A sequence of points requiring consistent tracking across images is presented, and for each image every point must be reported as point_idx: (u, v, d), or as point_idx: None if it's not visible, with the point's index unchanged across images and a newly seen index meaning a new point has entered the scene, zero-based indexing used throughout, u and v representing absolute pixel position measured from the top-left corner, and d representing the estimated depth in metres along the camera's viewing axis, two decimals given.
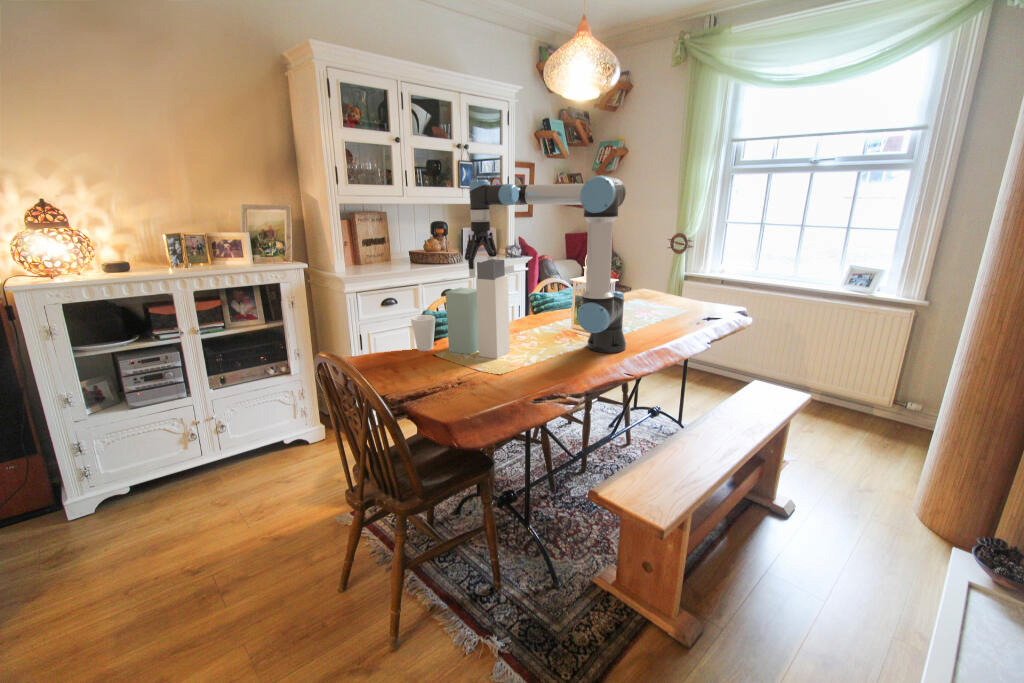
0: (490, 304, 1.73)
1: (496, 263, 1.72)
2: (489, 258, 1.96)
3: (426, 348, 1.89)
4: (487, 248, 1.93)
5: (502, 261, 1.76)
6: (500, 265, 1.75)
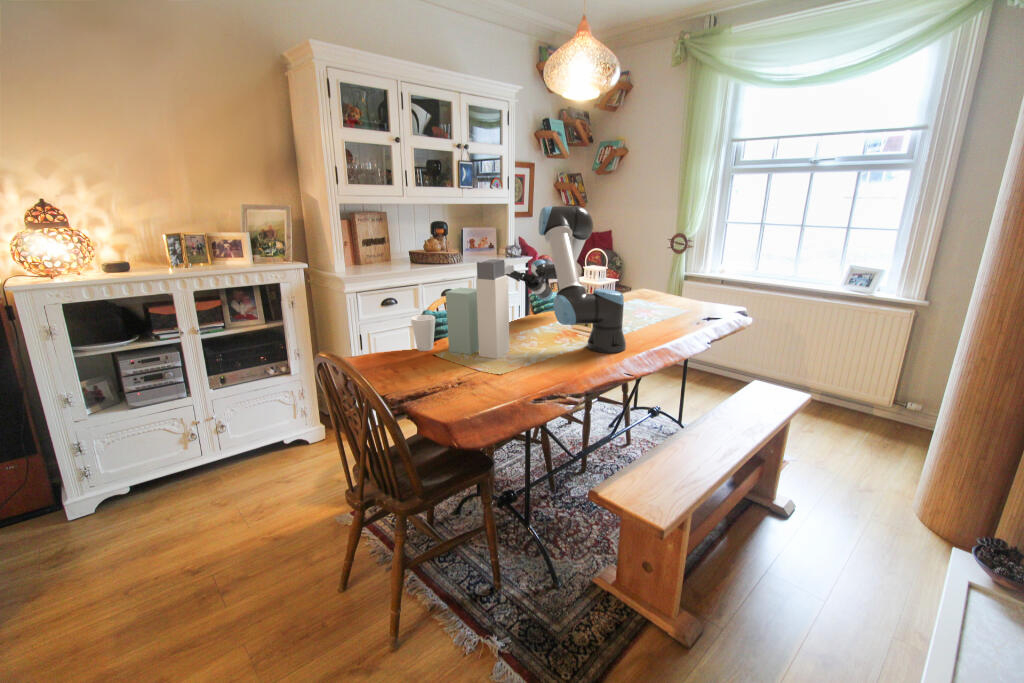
0: (490, 304, 1.73)
1: (496, 263, 1.72)
2: None
3: (426, 348, 1.89)
4: (517, 274, 2.15)
5: (502, 261, 1.76)
6: (500, 265, 1.75)
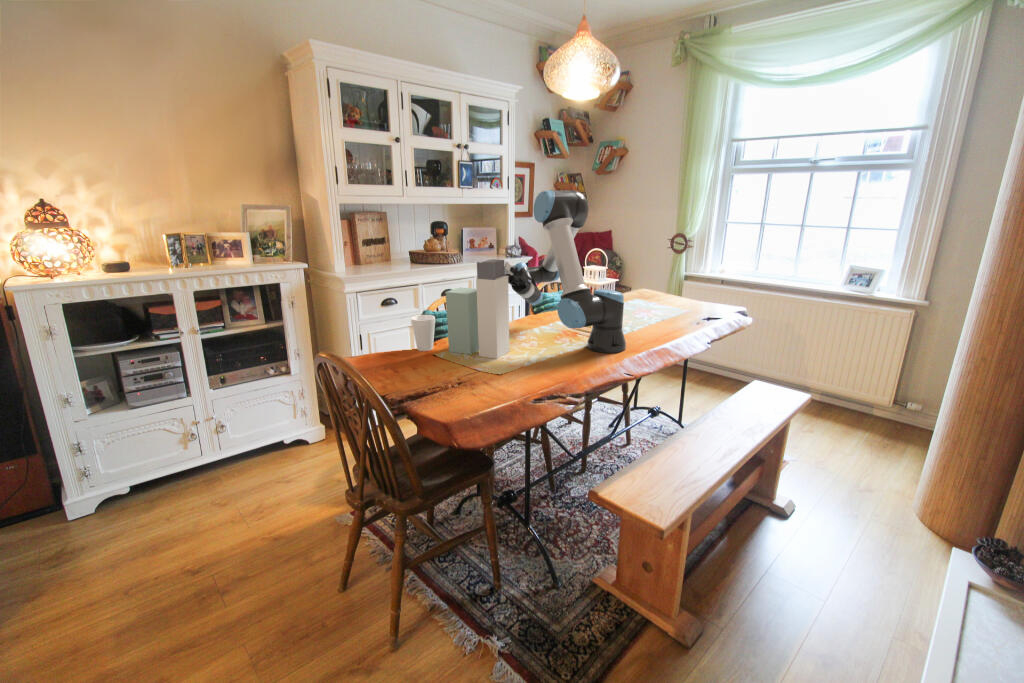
0: (490, 304, 1.73)
1: (496, 263, 1.72)
2: None
3: (426, 348, 1.89)
4: (506, 275, 1.90)
5: (502, 261, 1.76)
6: (500, 265, 1.75)
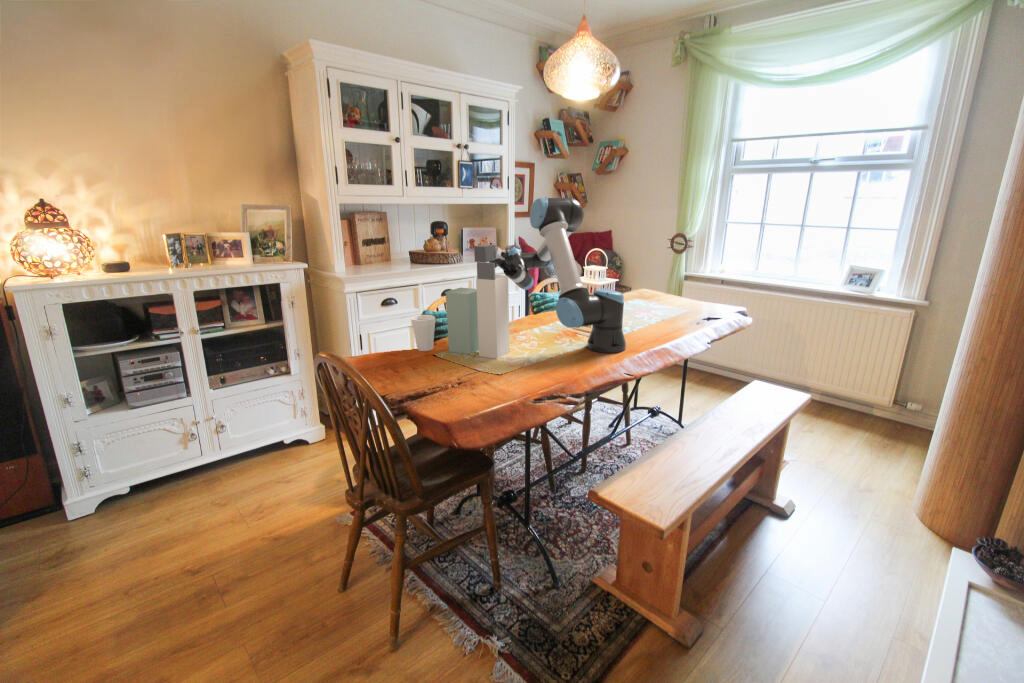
0: (490, 304, 1.73)
1: (487, 247, 1.83)
2: None
3: (426, 348, 1.89)
4: (498, 260, 2.01)
5: (493, 246, 1.87)
6: (491, 249, 1.86)
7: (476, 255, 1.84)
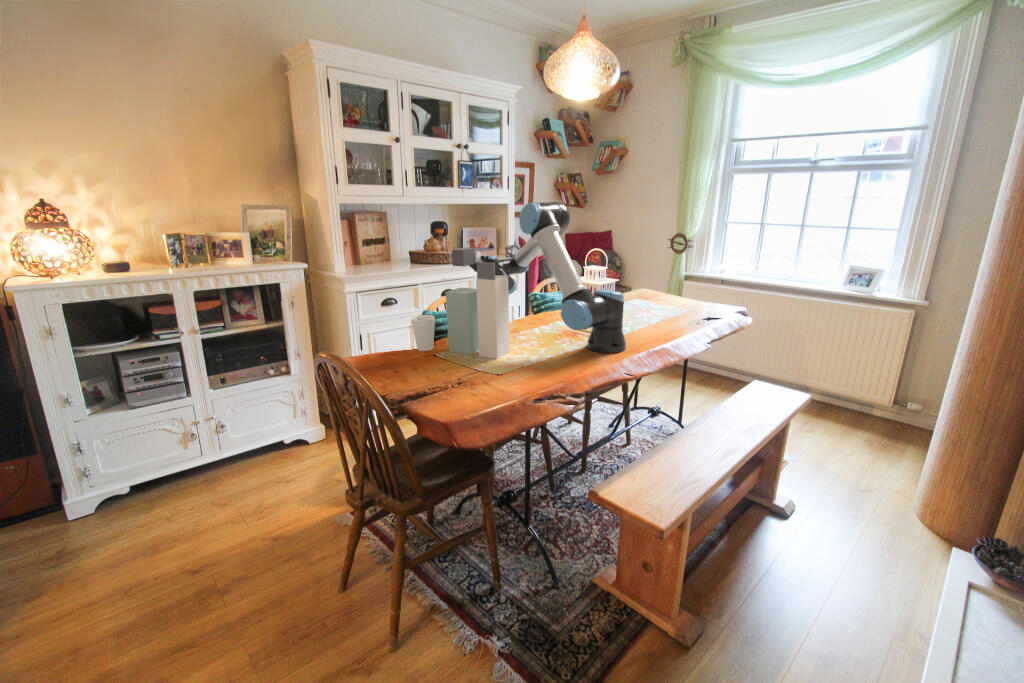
0: (490, 304, 1.73)
1: (465, 251, 1.76)
2: None
3: (426, 348, 1.89)
4: None
5: (472, 249, 1.80)
6: (470, 253, 1.79)
7: (454, 259, 1.77)
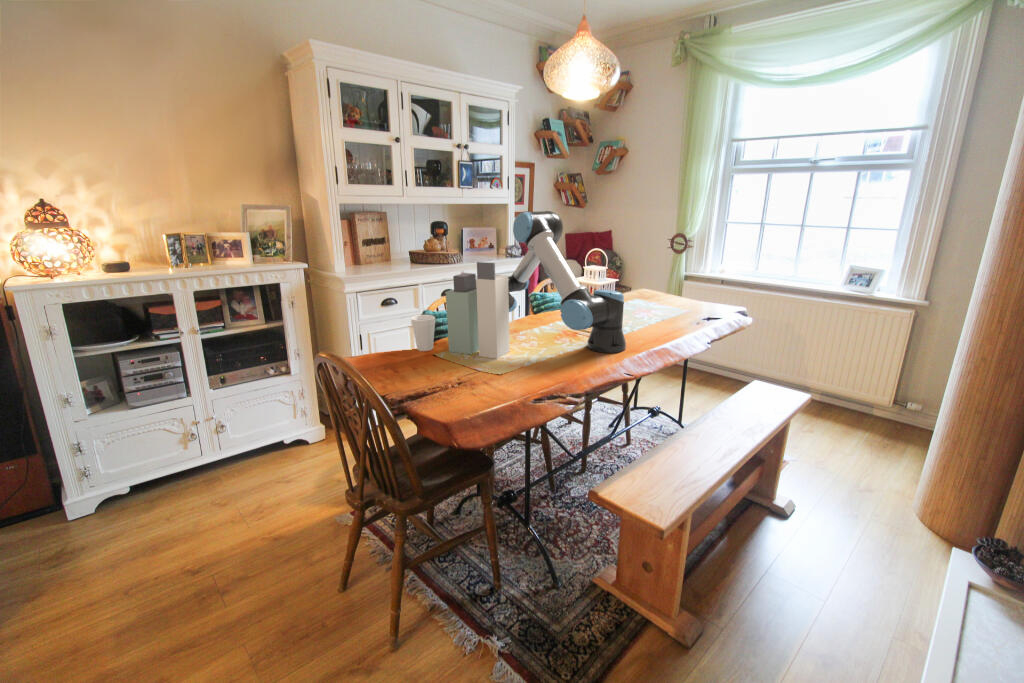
0: (490, 304, 1.73)
1: (467, 277, 1.79)
2: None
3: (426, 348, 1.89)
4: None
5: (473, 275, 1.83)
6: (471, 279, 1.82)
7: (455, 285, 1.80)
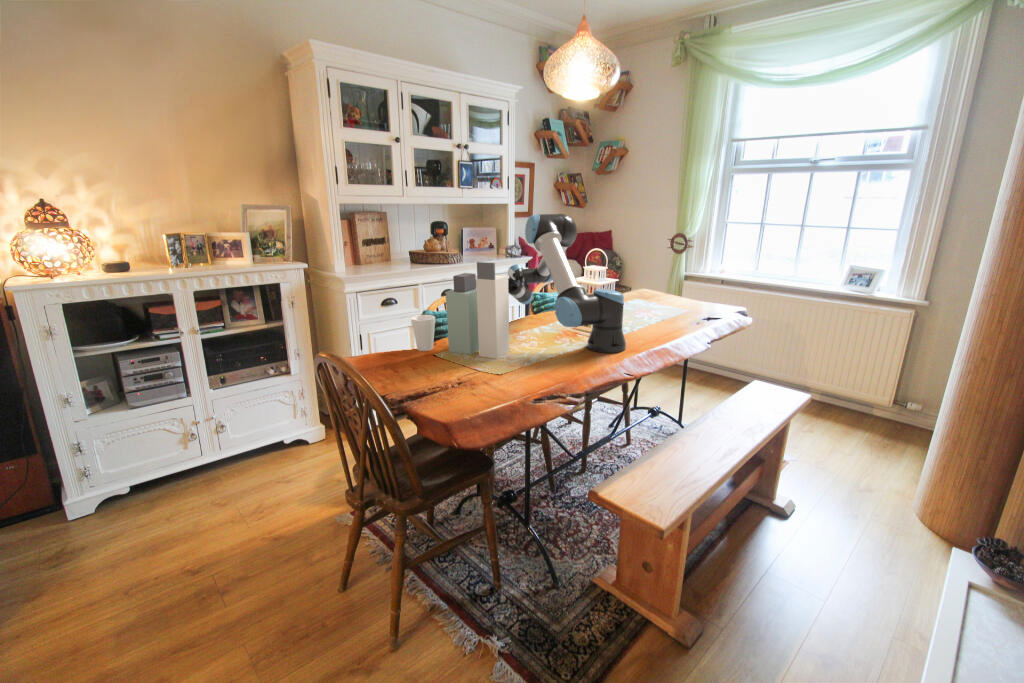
0: (490, 304, 1.73)
1: (467, 277, 1.79)
2: None
3: (426, 348, 1.89)
4: None
5: (473, 275, 1.83)
6: (471, 279, 1.82)
7: (455, 285, 1.80)
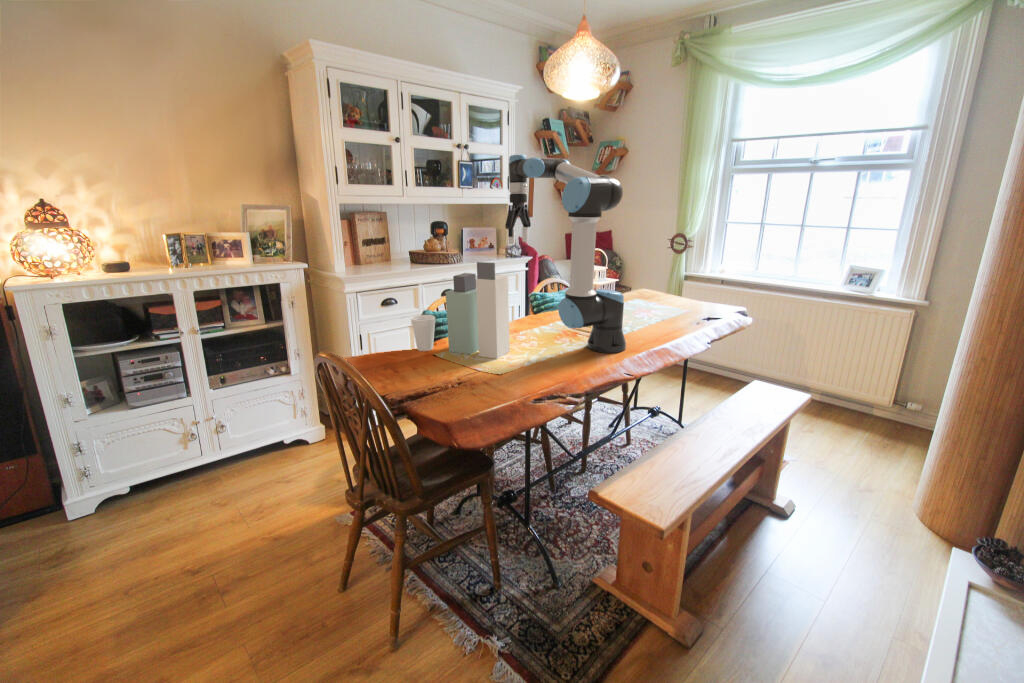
0: (490, 304, 1.73)
1: (467, 277, 1.79)
2: None
3: (426, 348, 1.89)
4: None
5: (473, 275, 1.83)
6: (471, 279, 1.82)
7: (455, 285, 1.80)
